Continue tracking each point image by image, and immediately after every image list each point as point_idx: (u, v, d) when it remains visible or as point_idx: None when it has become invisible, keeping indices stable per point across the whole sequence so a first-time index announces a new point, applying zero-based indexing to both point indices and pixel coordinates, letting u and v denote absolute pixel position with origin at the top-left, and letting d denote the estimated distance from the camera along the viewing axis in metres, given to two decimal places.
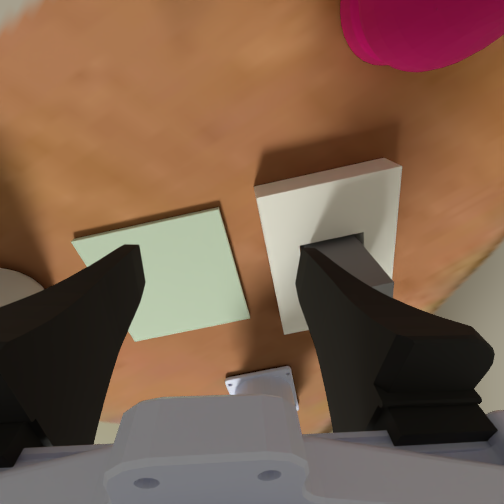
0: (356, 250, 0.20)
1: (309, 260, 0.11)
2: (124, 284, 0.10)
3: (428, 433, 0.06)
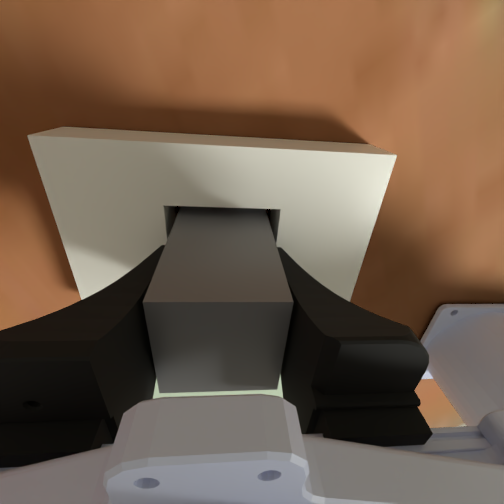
0: None
1: None
2: None
3: (361, 436, 0.06)
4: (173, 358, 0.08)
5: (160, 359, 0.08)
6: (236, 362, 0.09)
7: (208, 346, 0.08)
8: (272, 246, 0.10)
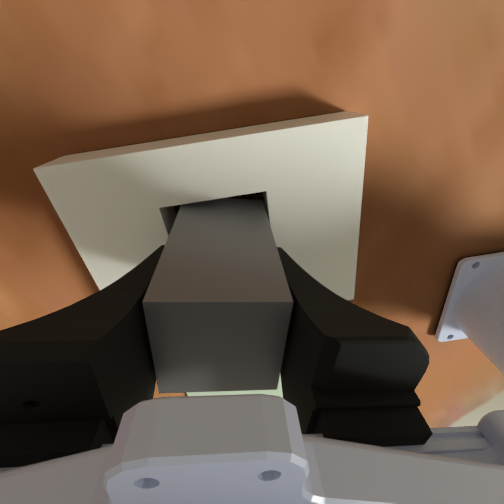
0: None
1: None
2: None
3: (361, 436, 0.06)
4: (173, 358, 0.08)
5: (160, 359, 0.08)
6: (236, 362, 0.09)
7: (208, 346, 0.08)
8: (272, 246, 0.10)
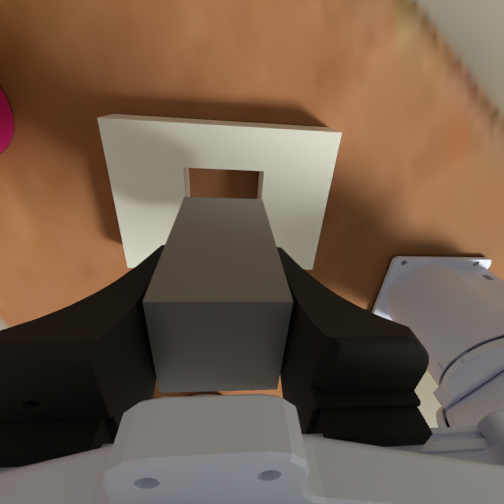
0: None
1: None
2: None
3: (360, 436, 0.06)
4: (173, 357, 0.08)
5: (160, 359, 0.08)
6: (236, 362, 0.09)
7: (208, 345, 0.08)
8: (272, 246, 0.10)
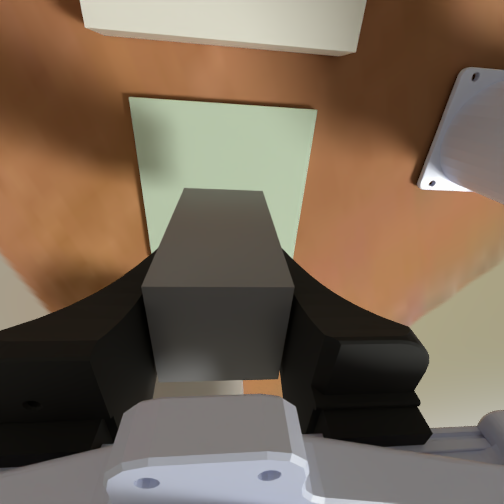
0: None
1: None
2: None
3: (361, 436, 0.06)
4: (172, 345, 0.08)
5: (159, 347, 0.08)
6: (236, 350, 0.09)
7: (208, 333, 0.08)
8: (272, 235, 0.10)
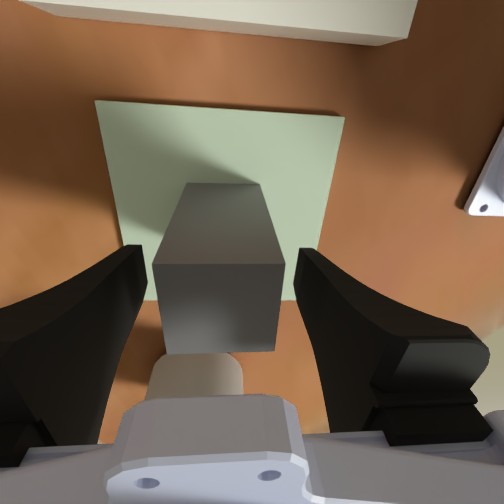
0: None
1: (306, 260, 0.11)
2: (127, 284, 0.10)
3: (423, 433, 0.06)
4: (179, 319, 0.09)
5: (167, 320, 0.09)
6: (236, 323, 0.10)
7: (210, 307, 0.09)
8: (268, 222, 0.11)
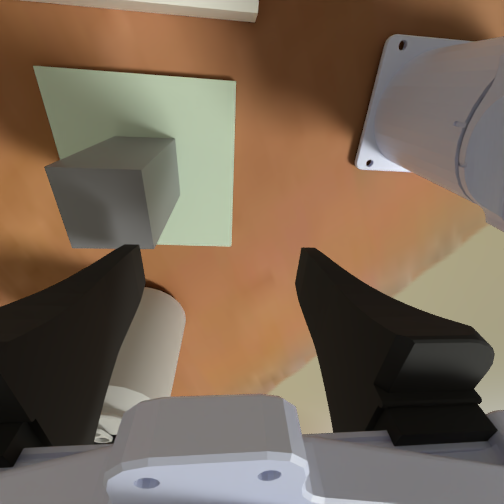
0: None
1: (309, 260, 0.11)
2: (124, 284, 0.10)
3: (428, 433, 0.06)
4: (74, 215, 0.13)
5: (66, 216, 0.13)
6: (118, 221, 0.13)
7: (95, 206, 0.13)
8: (154, 154, 0.14)
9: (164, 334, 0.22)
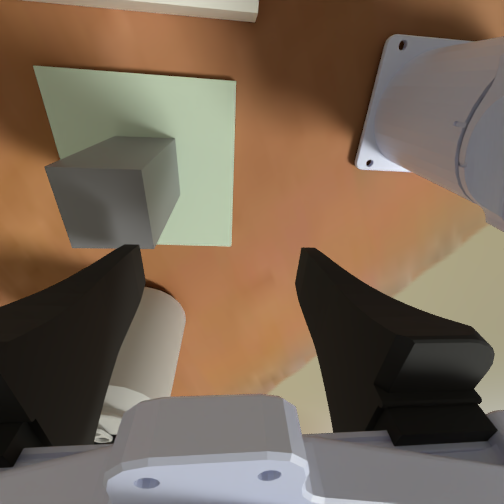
0: None
1: (309, 260, 0.11)
2: (124, 284, 0.10)
3: (428, 433, 0.06)
4: (74, 215, 0.13)
5: (66, 216, 0.13)
6: (118, 221, 0.13)
7: (95, 205, 0.13)
8: (154, 154, 0.14)
9: (164, 334, 0.22)
